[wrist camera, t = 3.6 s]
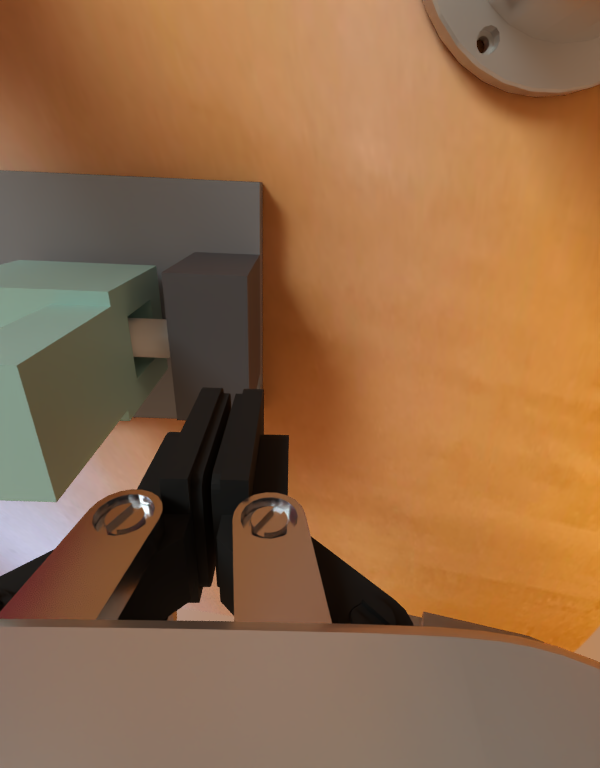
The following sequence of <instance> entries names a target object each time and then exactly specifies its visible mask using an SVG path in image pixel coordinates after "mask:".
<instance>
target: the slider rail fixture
mask: <svg viewBox="0 0 600 768" xmlns="http://www.w3.org/2000/svg"><path fill="white" fill-rule="evenodd" d="M17 260H35V261H59V262H83V263H107V264H131V265H155V266H156V267H157V276H158V285H159V294H160V303H161V312H162V319H146V318H128V324H129V331H130V337H131V344H132V351H133V357H151V358H167V365H168V369H167V371H166V372H165V373H164V375H163V376H162V378H161V379H160V380H159V382H158V383H157V384H156V386H155V387H154V389H153V390H152V391H151V393H150V394H149V395H148V397H147V398H146V400H145V401H144V402H143V404H142V405H141V406H140V408H139V409H138V411H137V412H136V413H135V415H134V416H133V417H146V418H175V419H177V420H187V418H188V416H189V414H190V412H191V410H192V408H193V405H194V403H195V401H196V399H197V397H198V395H199V393H200V391H201V389H202V387H207V388H223V390H224V393H230V394H231V408H232V405H233V401H234V398H235V394H242V393H243V389H262V183H261V182H242V181H221V180H199V179H177V178H155V177H133V176H111V175H90V174H68V173H46V172H24V171H2V170H0V265H1V264H5V263H9V262H13V261H17Z"/></svg>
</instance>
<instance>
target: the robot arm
mask: <svg viewBox="0 0 600 768" xmlns="http://www.w3.org/2000/svg"><path fill="white" fill-rule="evenodd" d="M423 3H424V7H425V9H426V11H427V13H428V15H429V17H430V19H431V21H432V23H433V25H434V27H435V29H436V31H437V33H438V35H439V37H440V39H441V40H442V42H443V43H444V44H445V45H446V47H447V48H448V49H449V50H450V52H451V53H452V54H453V55H454V57H455V58H456V59H457V60H458V62H459V63H460V64H461V65H463V66H464V67H465V68H466V69H468V70H469V71H470V72H471V73H473V74H474V75H475V76H476V77H478V78H479V79H480V80H482V81H483V82H485V83H488V84H490V85H492V86H494V87H497V88H499V89H501V90H503V91H506V92H508V93H514V94H520V95H526V96H531V97H543V96H559V95H566V94H570V93H573V92H577V91H580V90H584V89H587V88H591V87H594V86H596V85H599V84H600V0H423ZM477 40H481V41H483V43H484V51H483V53H480V52H479V50H478V48H477ZM288 449H289V435H264V390H263V389H243V393H242V394H235V398H234V401H233V405H232V408H231V394H230V393H224V390H223V388H207V387H202V389H201V391H200V393H199V395H198V397H197V399H196V401H195V403H194V405H193V408H192V410H191V412H190V414H189V416H188V418H187V420H186V422H185V424H184V426H183V428H182V430H181V432H169V433H167V435H166V436H165V438H164V440H163V442H162V444H161V446H160V447H159V449H158V451H157V453H156V455H155V457H154V459H153V461H152V462H151V464H150V466H149V468H148V470H147V472H146V474H145V475H144V477H143V479H142V481H141V483H140V485H139V487H138V489H137V490H134V489H131V490H125V491H120V492H117V493H114V494H111V495H109V496H107V497H105V498H103V499H102V500H100V501H98V502H97V503H96V504H95V505H94V506H93V507H91V508H90V509H89V510H88V512H87V513H86V514H85V515H84V516H83V517H82V519H81V520H80V521H79V522H78V523H77V524H76V525H75V527H74V528H73V529H72V530H71V531H70V532H69V533H68V535H67V536H66V537H65V538H64V539H63V540H62V541H61V543H60V544H59V545H58V546H57V547H56V548H55V549H54V550H52V551H50V552H48V553H46V554H44V555H42V556H40V557H38V558H36V559H34V560H32V561H30V562H28V563H26V564H24V565H22V566H20V567H18V568H16V569H14V570H12V571H10V572H8V573H6V574H4V575H2V576H0V768H600V662H598V661H595V660H593V659H590V658H587V657H584V656H581V655H579V654H576V653H574V652H571V651H568V650H566V649H563V648H560V647H558V646H555V645H551V644H547V643H544V642H542V641H540V640H537V639H535V638H532V637H529V636H526V635H522V634H517V633H513V632H509V631H504V630H500V629H496V628H492V627H487V626H483V625H479V624H474V623H470V622H466V621H461V620H457V619H453V618H448V617H444V616H440V615H436V614H431V613H427V612H423V615H422V618H420V617H416V616H412V615H408V614H407V612H406V610H405V609H404V608H403V607H402V606H401V605H400V604H399V603H397V602H396V601H395V600H394V599H393V598H392V597H390V596H389V595H388V594H386V593H385V592H384V591H382V590H381V589H380V588H378V587H377V586H376V585H374V584H373V583H372V582H370V581H369V580H368V579H366V578H365V577H364V576H363V575H361V574H360V573H359V572H357V571H356V570H355V569H353V568H352V567H351V566H349V565H348V564H347V563H345V562H344V561H343V560H341V559H340V558H339V557H337V556H336V555H335V554H334V553H332V552H331V551H330V550H328V549H327V548H326V547H324V546H323V545H322V544H320V543H319V542H318V541H316V540H315V539H314V538H312V537H311V536H310V531H309V527H308V523H307V519H306V515H305V512H304V510H303V508H302V506H301V505H300V504H299V503H298V502H297V501H296V500H295V499H293V498H291V497H289V496H288ZM215 566H216V576H217V586H218V587H220V600H221V602H222V603H223V604H224V605H225V607H226V608H227V609H228V610H229V611H230V612H231V613H232V614H233V615H234V622H226V621H225V622H224V621H176V620H177V610H178V609H180V608H181V607H182V606H184V605H185V604H187V603H199V602H200V598H201V594H202V589H203V587H211V585H212V581H213V576H214V571H215Z"/></svg>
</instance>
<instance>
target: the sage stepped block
mask: <svg viewBox="0 0 600 768" xmlns="http://www.w3.org/2000/svg"><path fill="white" fill-rule="evenodd" d="M128 318H146V319H162V312H161V303H160V294H159V285H158V276H157V267H156V266H155V265H131V264H107V263H83V262H59V261H35V260H17V261H13V262H9V263H5V264H1V265H0V500H5V501H38V502H57V501H58V500H59V498H60V497H61V496H62V495H63V493H64V492H65V491H66V489H67V488H68V487H69V485H70V484H71V483H72V482H73V480H74V479H75V478H76V476H77V475H78V474H79V473H80V471H81V470H82V469H83V467H84V466H85V465H86V463H87V462H88V461H89V460H90V458H91V457H92V456H93V454H94V453H95V452H96V450H97V449H98V448H99V447H100V445H101V444H102V443H103V441H104V440H105V439H106V438H107V436H108V435H109V434H110V432H111V431H112V430H113V428H114V427H115V426H116V425H117V423H118V422H119V421H130V420H131V419H132V417H133V416H134V415H135V413H136V412H137V411H138V409H139V408H140V406H141V405H142V404H143V402H144V401H145V400H146V398H147V397H148V395H149V394H150V393H151V391H152V390H153V389H154V387H155V386H156V384H157V383H158V382H159V380H160V379H161V378H162V376H163V375H164V373H165V372H166V371H167V369H168V365H167V358H151V357H133V351H132V344H131V337H130V331H129V324H128Z"/></svg>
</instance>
